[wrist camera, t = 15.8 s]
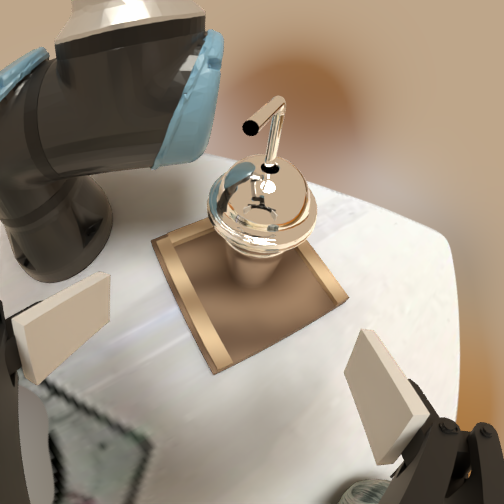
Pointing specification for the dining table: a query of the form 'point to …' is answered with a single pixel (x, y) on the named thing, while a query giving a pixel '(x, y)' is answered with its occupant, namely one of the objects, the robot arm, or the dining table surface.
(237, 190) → the cup with straw
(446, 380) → the dining table surface
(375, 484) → the spool
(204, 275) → the brown flat square tray
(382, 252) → the dining table surface
